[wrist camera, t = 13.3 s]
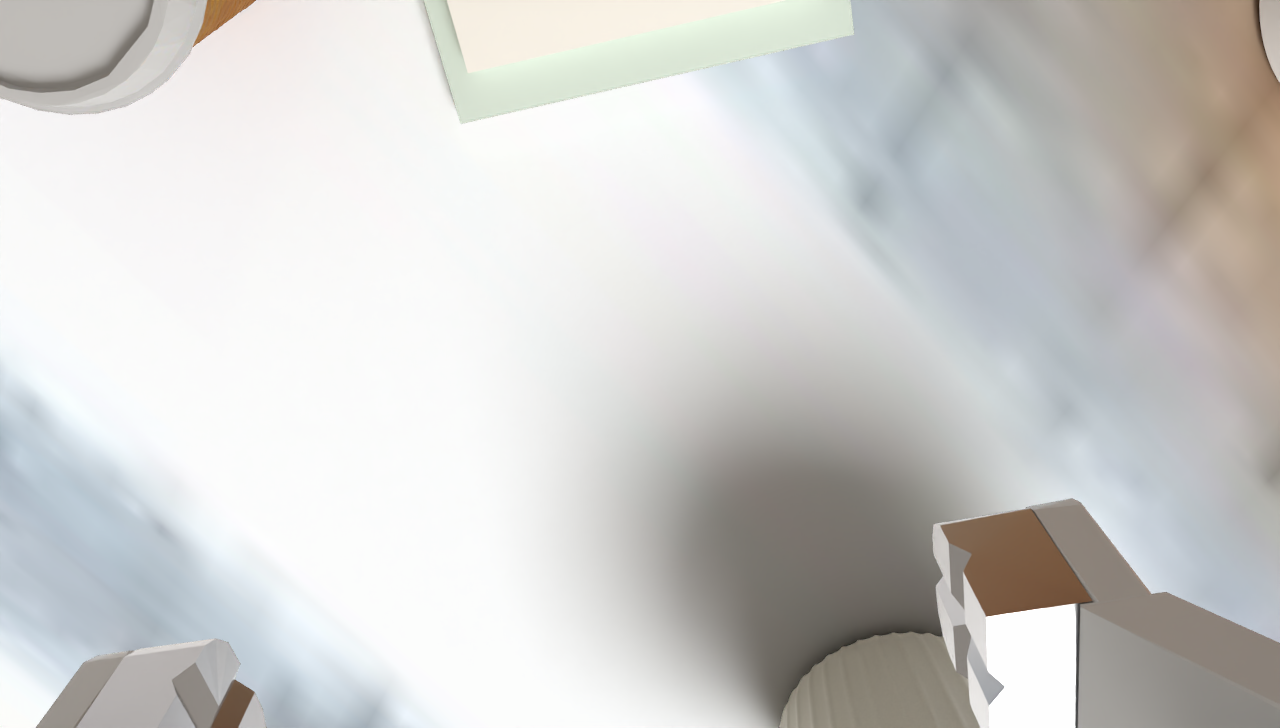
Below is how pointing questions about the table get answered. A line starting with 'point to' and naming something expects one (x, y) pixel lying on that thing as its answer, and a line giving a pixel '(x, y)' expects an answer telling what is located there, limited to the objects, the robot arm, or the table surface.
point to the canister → (883, 687)
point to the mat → (632, 55)
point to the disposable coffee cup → (99, 49)
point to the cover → (567, 24)
